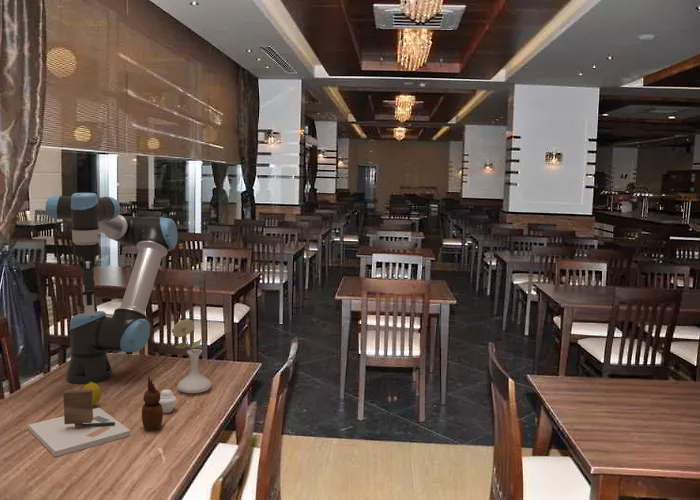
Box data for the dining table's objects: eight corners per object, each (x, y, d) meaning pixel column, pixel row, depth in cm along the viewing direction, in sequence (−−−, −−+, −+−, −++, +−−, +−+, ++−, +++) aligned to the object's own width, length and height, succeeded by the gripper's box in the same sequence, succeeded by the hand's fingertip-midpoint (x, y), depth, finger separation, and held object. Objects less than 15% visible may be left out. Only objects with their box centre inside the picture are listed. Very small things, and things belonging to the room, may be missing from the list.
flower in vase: (209, 383, 215) (209, 314, 212) (213, 394, 205) (213, 321, 202) (171, 386, 211) (170, 315, 208) (172, 398, 201) (172, 323, 197)
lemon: (94, 410, 188) (93, 385, 187) (78, 408, 190) (77, 384, 189) (104, 404, 194) (104, 379, 193) (89, 402, 195) (88, 378, 194)
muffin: (175, 414, 187) (175, 392, 186) (154, 415, 186) (154, 393, 185) (177, 406, 193) (177, 385, 192) (157, 407, 192) (157, 386, 191)
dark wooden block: (66, 425, 173) (65, 390, 172) (115, 422, 176) (114, 387, 174) (64, 429, 170) (63, 393, 169) (114, 426, 173) (113, 390, 172)
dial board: (99, 412, 187) (99, 407, 187) (130, 435, 172) (130, 430, 171) (28, 429, 174) (28, 424, 173) (55, 456, 158) (55, 451, 158)
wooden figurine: (140, 424, 179) (140, 375, 177) (161, 422, 181) (160, 373, 180) (142, 434, 173) (142, 382, 171) (164, 431, 175) (163, 380, 173)
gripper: (101, 248, 180) (104, 318, 183) (97, 237, 202) (99, 300, 205) (73, 249, 176) (76, 320, 180) (72, 238, 199) (75, 301, 202)
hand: (88, 309), depth 192 cm, fingers open, 13 cm apart
